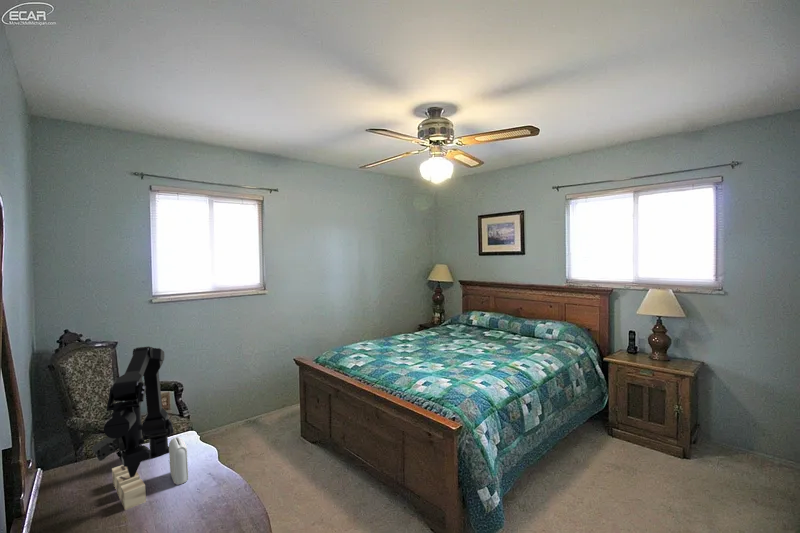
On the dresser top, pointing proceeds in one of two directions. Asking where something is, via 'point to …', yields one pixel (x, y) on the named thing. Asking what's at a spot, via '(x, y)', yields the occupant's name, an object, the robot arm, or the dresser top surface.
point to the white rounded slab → (178, 460)
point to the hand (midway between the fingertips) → (132, 476)
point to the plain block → (133, 494)
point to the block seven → (125, 481)
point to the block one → (118, 473)
